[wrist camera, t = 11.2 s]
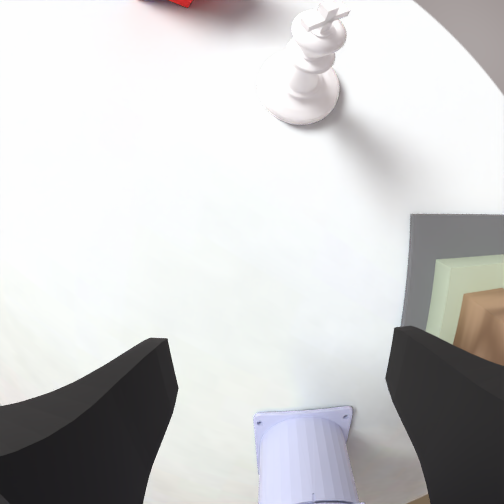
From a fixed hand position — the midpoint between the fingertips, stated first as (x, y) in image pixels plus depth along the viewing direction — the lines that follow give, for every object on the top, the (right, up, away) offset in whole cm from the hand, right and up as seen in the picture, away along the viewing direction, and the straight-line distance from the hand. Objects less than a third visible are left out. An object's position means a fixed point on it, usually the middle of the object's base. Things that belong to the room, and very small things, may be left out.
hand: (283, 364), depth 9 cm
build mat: (+15, -1, +10) cm, 18 cm away
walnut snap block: (+15, -1, +8) cm, 17 cm away
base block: (+15, -1, +10) cm, 18 cm away
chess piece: (+2, +13, +7) cm, 15 cm away
